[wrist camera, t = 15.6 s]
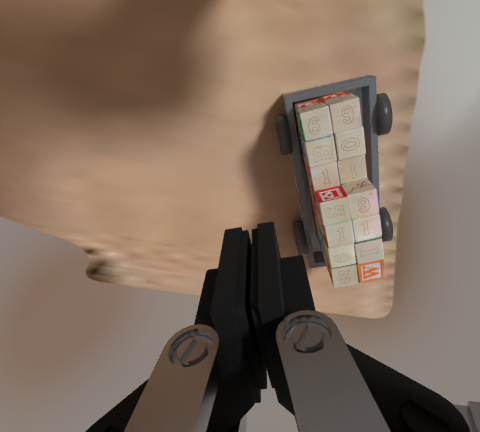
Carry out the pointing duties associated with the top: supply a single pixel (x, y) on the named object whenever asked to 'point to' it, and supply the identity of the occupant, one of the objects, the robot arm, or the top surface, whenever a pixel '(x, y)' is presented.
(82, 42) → the top surface
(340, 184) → the stack of blocks
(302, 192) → the chassis
